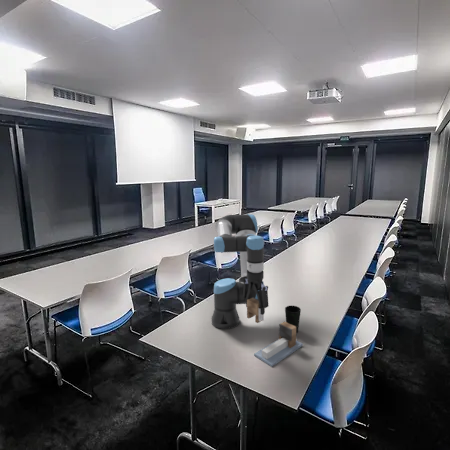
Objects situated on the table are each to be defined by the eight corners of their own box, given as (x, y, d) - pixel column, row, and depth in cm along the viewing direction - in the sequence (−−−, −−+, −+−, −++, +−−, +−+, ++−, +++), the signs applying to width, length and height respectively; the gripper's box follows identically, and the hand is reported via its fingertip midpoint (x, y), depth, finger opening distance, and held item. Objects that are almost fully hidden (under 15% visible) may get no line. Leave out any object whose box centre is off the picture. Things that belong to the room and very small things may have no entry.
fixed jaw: (295, 344, 135) (296, 326, 133) (290, 348, 132) (290, 330, 131) (284, 338, 140) (284, 321, 138) (279, 342, 137) (279, 324, 136)
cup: (282, 332, 148) (282, 310, 145) (288, 325, 154) (288, 304, 152) (297, 336, 143) (297, 313, 141) (302, 329, 150) (302, 307, 147)
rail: (254, 355, 129) (254, 347, 129) (285, 336, 143) (285, 329, 143) (271, 366, 122) (271, 358, 121) (302, 345, 136) (302, 337, 135)
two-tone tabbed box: (247, 317, 137) (247, 299, 136) (253, 314, 140) (253, 297, 138) (257, 323, 132) (257, 304, 131) (263, 320, 135) (263, 301, 133)
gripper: (234, 266, 136) (234, 312, 141) (266, 278, 122) (265, 328, 126) (245, 263, 141) (246, 307, 146) (277, 273, 127) (276, 322, 131)
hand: (255, 317), depth 136 cm, fingers closed on two-tone tabbed box, 7 cm apart
